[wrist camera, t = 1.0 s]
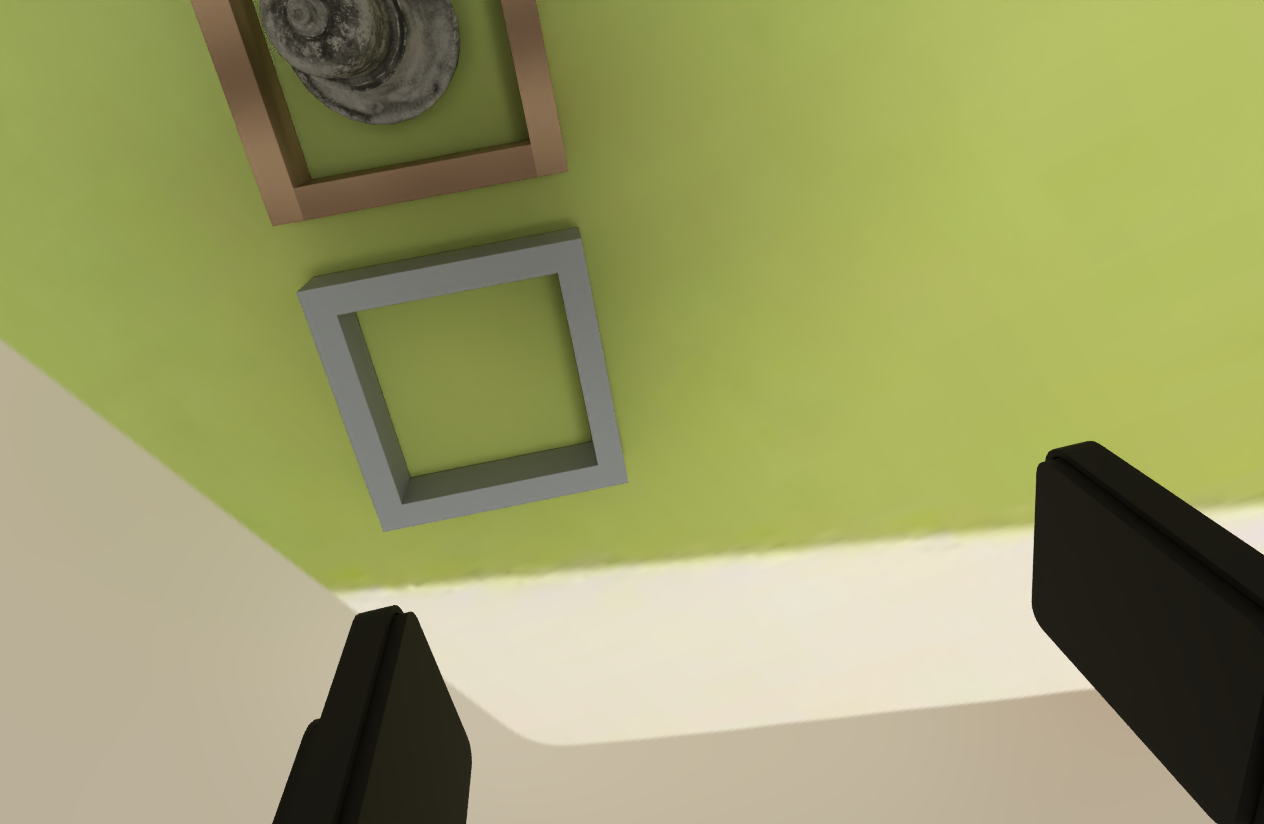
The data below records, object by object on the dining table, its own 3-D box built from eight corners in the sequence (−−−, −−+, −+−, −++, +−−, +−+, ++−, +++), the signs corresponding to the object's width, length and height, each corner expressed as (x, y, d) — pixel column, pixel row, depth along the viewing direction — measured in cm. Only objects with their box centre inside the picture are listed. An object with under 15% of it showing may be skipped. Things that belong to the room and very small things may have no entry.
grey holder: (313, 276, 32) (296, 292, 30) (578, 226, 32) (581, 238, 30) (392, 503, 37) (383, 532, 34) (622, 457, 37) (628, 482, 35)
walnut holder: (176, -116, 26) (142, -134, 24) (501, -171, 26) (498, -194, 24) (292, 215, 31) (272, 226, 29) (566, 164, 31) (568, 171, 29)
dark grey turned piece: (362, 144, 30) (261, 183, 19) (275, -11, 28) (104, -68, 17) (494, 81, 30) (469, 84, 19) (419, -82, 27) (339, -188, 16)
